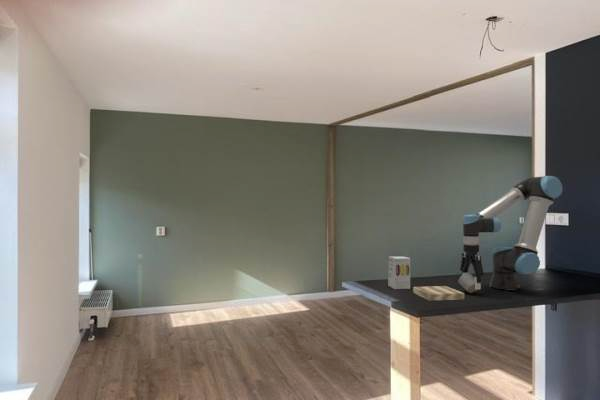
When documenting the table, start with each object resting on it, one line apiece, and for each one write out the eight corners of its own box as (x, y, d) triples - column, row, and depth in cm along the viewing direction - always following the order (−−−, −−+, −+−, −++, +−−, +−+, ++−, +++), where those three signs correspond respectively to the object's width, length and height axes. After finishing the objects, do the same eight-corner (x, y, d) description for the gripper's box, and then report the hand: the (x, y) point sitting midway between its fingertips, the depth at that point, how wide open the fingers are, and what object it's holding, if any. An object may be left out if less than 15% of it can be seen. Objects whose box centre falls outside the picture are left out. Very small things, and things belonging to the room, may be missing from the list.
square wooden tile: (445, 291, 219) (445, 285, 219) (464, 299, 201) (464, 293, 201) (413, 292, 216) (413, 286, 216) (429, 300, 198) (429, 294, 198)
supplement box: (394, 289, 224) (394, 258, 224) (387, 286, 233) (387, 256, 233) (410, 288, 226) (410, 257, 226) (403, 285, 235) (403, 255, 235)
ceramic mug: (468, 296, 212) (470, 286, 207) (457, 285, 218) (458, 275, 214) (484, 287, 215) (486, 277, 210) (472, 276, 221) (474, 267, 216)
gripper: (452, 242, 225) (453, 283, 225) (477, 246, 203) (477, 292, 203) (465, 242, 226) (466, 282, 226) (491, 246, 204) (491, 291, 204)
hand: (471, 287), depth 214 cm, fingers closed on ceramic mug, 10 cm apart
